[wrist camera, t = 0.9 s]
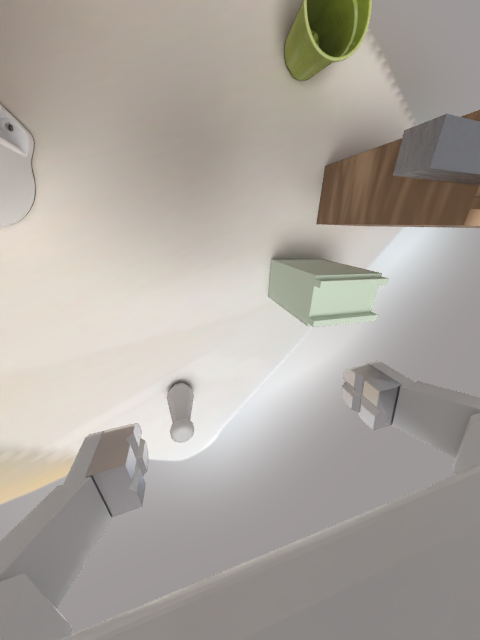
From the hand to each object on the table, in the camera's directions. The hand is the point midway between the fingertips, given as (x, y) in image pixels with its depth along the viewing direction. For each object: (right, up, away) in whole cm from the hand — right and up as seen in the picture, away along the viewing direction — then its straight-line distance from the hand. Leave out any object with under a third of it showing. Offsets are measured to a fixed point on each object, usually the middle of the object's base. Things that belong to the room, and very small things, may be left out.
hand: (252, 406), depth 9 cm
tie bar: (+23, +18, +12) cm, 32 cm away
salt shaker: (-15, -13, +44) cm, 48 cm away
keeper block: (+12, +13, +40) cm, 44 cm away
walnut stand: (+22, +28, +37) cm, 52 cm away
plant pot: (+9, +45, +26) cm, 52 cm away
